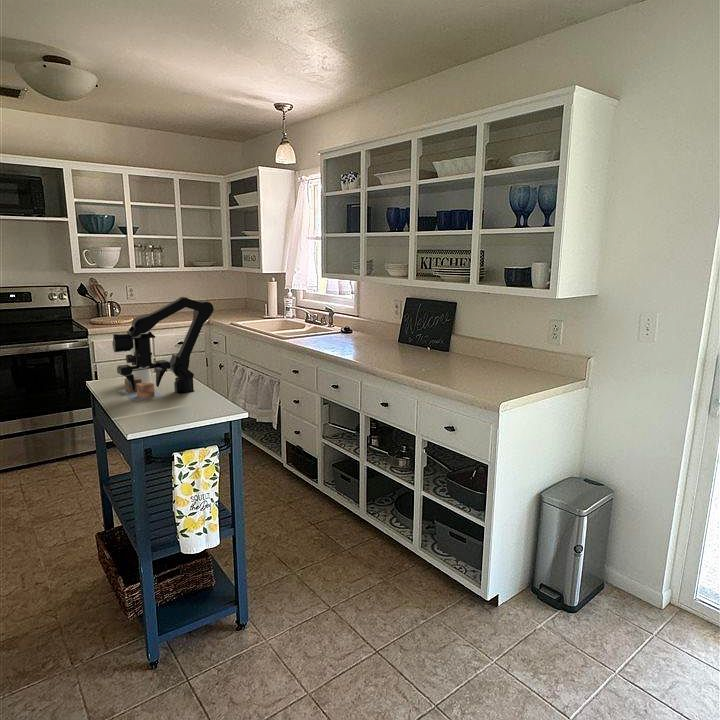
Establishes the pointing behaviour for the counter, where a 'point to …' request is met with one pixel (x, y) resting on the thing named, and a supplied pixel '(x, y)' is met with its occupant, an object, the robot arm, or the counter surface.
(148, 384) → the terracotta block
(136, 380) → the walnut block
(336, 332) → the counter surface
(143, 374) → the cylindrical container
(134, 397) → the board
